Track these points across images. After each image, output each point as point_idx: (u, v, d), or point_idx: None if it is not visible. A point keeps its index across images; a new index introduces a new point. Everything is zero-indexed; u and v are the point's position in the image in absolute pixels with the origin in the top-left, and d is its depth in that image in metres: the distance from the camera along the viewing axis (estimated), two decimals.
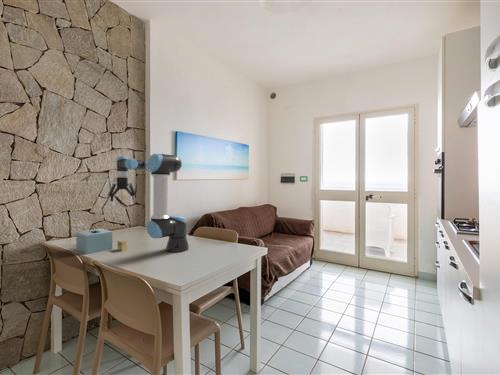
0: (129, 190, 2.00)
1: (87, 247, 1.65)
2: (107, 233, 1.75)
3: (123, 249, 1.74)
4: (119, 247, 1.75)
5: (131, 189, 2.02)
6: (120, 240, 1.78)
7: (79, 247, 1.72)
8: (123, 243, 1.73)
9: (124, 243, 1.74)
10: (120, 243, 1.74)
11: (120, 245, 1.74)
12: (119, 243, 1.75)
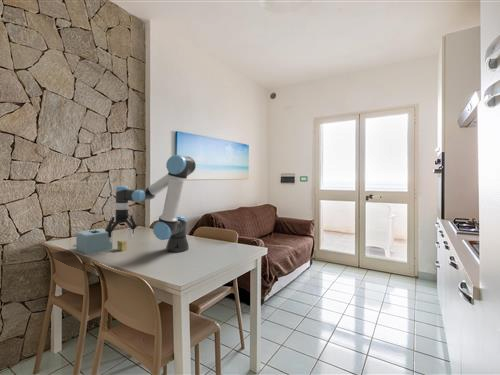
0: (129, 223, 1.79)
1: (87, 247, 1.65)
2: (107, 233, 1.75)
3: (123, 249, 1.74)
4: (119, 247, 1.75)
5: (131, 221, 1.81)
6: (120, 240, 1.78)
7: (79, 247, 1.72)
8: (123, 243, 1.73)
9: (124, 243, 1.74)
10: (120, 243, 1.74)
11: (120, 245, 1.74)
12: (119, 243, 1.75)
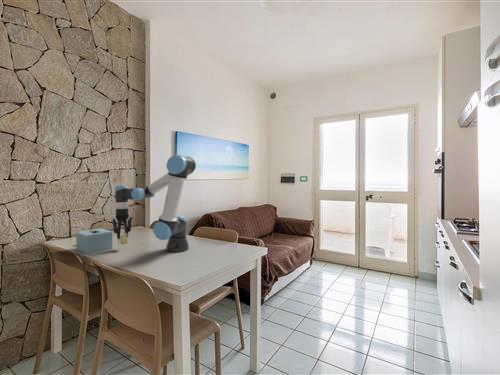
0: (126, 225, 1.77)
1: (87, 247, 1.65)
2: (107, 233, 1.75)
3: (124, 242, 1.74)
4: None
5: (129, 223, 1.78)
6: (121, 234, 1.77)
7: (79, 247, 1.72)
8: (123, 236, 1.73)
9: (125, 236, 1.74)
10: (121, 236, 1.74)
11: None
12: None
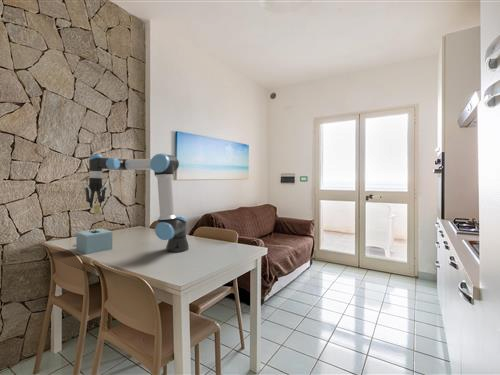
0: (100, 194, 1.76)
1: (87, 247, 1.65)
2: (107, 233, 1.75)
3: (96, 212, 1.73)
4: None
5: (102, 193, 1.78)
6: None
7: (79, 247, 1.72)
8: (96, 205, 1.73)
9: (97, 206, 1.74)
10: None
11: None
12: None
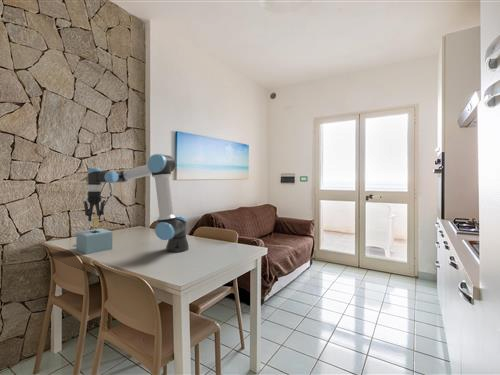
0: (98, 208, 1.76)
1: (87, 247, 1.65)
2: (107, 233, 1.75)
3: (95, 225, 1.73)
4: None
5: (101, 206, 1.78)
6: None
7: (79, 247, 1.72)
8: (95, 219, 1.73)
9: (96, 219, 1.74)
10: None
11: None
12: None
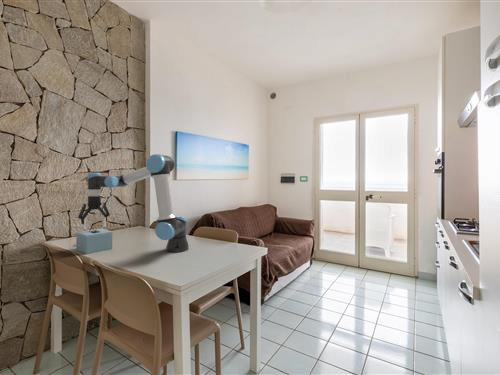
0: (102, 210, 1.78)
1: (87, 247, 1.65)
2: (107, 233, 1.75)
3: None
4: None
5: (105, 209, 1.80)
6: None
7: (79, 247, 1.72)
8: None
9: None
10: None
11: None
12: None
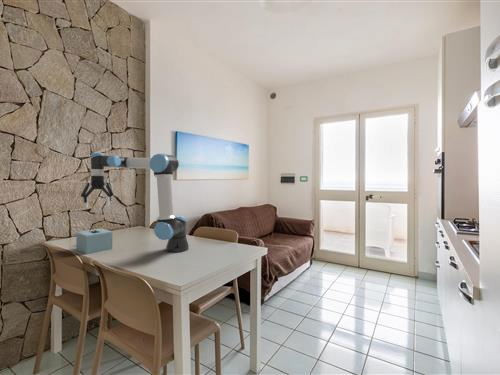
0: (106, 190, 1.80)
1: (87, 247, 1.65)
2: (107, 233, 1.75)
3: None
4: None
5: (108, 189, 1.82)
6: None
7: (79, 247, 1.72)
8: None
9: None
10: None
11: None
12: None
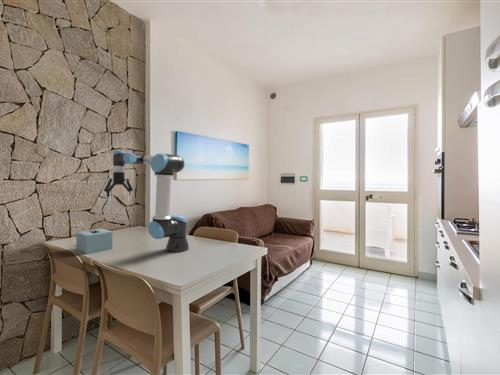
0: (126, 185, 1.94)
1: (87, 247, 1.65)
2: (107, 233, 1.75)
3: None
4: None
5: (128, 184, 1.96)
6: None
7: (79, 247, 1.72)
8: None
9: None
10: None
11: None
12: None
